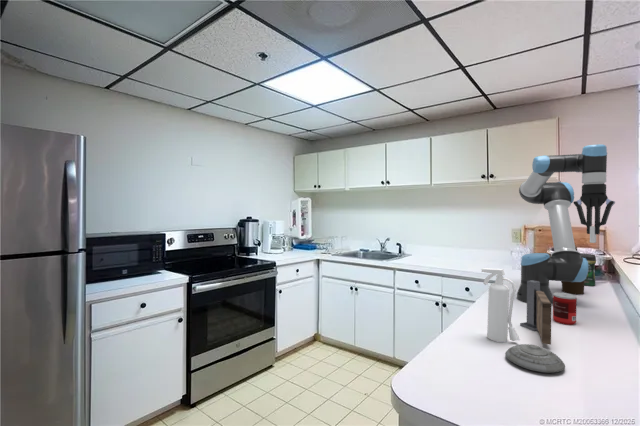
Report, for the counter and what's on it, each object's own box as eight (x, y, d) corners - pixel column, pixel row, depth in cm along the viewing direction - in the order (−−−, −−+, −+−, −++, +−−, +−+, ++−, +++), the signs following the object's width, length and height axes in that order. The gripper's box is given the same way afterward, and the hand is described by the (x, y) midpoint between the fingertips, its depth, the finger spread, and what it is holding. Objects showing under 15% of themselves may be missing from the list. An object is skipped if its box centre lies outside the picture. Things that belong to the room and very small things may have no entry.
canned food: (573, 319, 134) (573, 293, 134) (578, 326, 127) (579, 298, 127) (550, 317, 138) (551, 291, 137) (555, 323, 130) (555, 296, 130)
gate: (535, 324, 125) (535, 290, 125) (542, 325, 124) (543, 290, 123) (542, 343, 108) (542, 303, 108) (550, 344, 107) (551, 304, 107)
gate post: (520, 325, 128) (520, 280, 128) (531, 323, 130) (532, 279, 129) (534, 331, 122) (534, 283, 122) (546, 329, 124) (546, 282, 124)
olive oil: (590, 294, 172) (591, 247, 172) (573, 295, 170) (574, 248, 170) (572, 289, 183) (572, 245, 182) (555, 290, 181) (556, 245, 180)
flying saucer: (509, 348, 108) (509, 332, 108) (566, 362, 99) (566, 344, 99) (500, 366, 97) (501, 347, 96) (563, 383, 87) (564, 362, 87)
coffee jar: (573, 284, 194) (574, 253, 194) (575, 282, 200) (576, 252, 200) (595, 287, 188) (595, 255, 187) (596, 284, 193) (596, 253, 193)
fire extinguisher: (515, 347, 108) (516, 273, 108) (478, 337, 117) (479, 268, 117) (522, 342, 113) (523, 270, 112) (486, 332, 122) (486, 265, 121)
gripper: (617, 183, 128) (616, 243, 128) (576, 185, 138) (575, 240, 138) (613, 182, 123) (612, 244, 123) (571, 184, 133) (570, 241, 134)
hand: (592, 242), depth 131 cm, fingers closed
